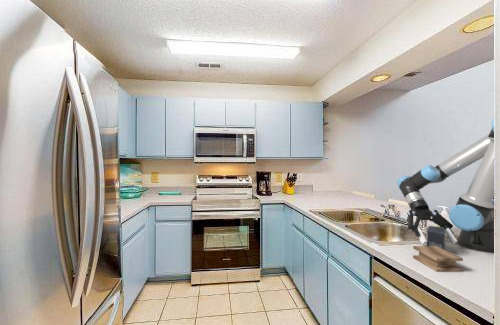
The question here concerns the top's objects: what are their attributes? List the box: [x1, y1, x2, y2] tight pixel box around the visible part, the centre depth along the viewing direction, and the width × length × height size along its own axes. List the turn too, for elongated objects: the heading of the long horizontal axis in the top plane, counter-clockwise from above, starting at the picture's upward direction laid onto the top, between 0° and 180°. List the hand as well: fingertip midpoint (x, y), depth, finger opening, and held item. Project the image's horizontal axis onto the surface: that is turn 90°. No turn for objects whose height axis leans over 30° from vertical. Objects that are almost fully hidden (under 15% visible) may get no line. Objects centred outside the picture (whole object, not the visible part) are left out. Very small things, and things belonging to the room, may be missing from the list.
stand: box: [412, 245, 464, 273], centre depth 100 cm, size 10×13×5 cm
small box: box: [426, 225, 446, 250], centre depth 113 cm, size 11×6×10 cm, turn 141°
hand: (439, 242), depth 111 cm, fingers open, 13 cm apart
